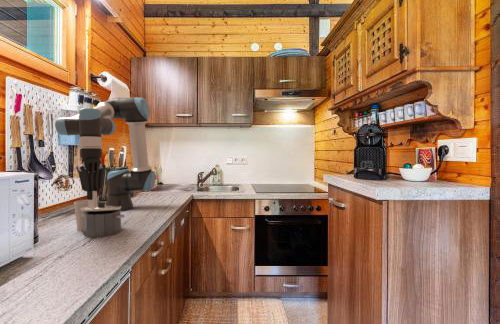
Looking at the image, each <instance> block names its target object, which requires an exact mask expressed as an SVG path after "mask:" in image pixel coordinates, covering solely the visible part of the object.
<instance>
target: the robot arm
mask: <svg viewBox="0 0 500 324" xmlns="http://www.w3.org/2000/svg"><path fill="white" fill-rule="evenodd" d="M150 118H151V109H150V105H149V103H148V101H147V99H145V98H144V97H135V96H134V97H114V98H110V99H107V100H104V101H101V102H99V103H98V104H96V106H94V107H82V108H80V109H79V110H78V114H75V115H73V116H69V117H66V116H63V117H59V118H57V119H56V120H55V123H54V127H55V131H56V133H58V134H59V135H61V136H79V147H80V149H79V157H80V159H81V162H80V163H81V164H80V165H79V166H78V165H76V167H75V169H76V170H77V173H78V177H79V182H80V186H81V190H82V191H83V192H86V200H88V208H96V207H97V206H98V197H99V196H98V195H99V193H98V192H99V191H101V189H102V188H103V179H104V173H105V169H106V165H105V164H103V163H102V161H101V158H103V149H102V147H103V143H102V142H103V141H102V140H103V139H102V136H111V135H113V134H115V132H116V129H117V126H116V123H115V122H114V121H113V120H118V119H119V120H120V119H121V120H124V121H125V124H126V125H128V132H129V133H128V134H129V143H130V151H131V161H132V167H131V168H130V169H129V168H127V169H121V170H120V169H119V170H113V171H108V173H107V179H106V182H107V199H106V202H105V206H121V212H123V211H128V210H131V209H133V208H134V202H133V200H132V198H131V194H130V192H146V191H148V192H149V191H151V190H153V189H154V187H155V184H156V178H157V177H156V176H157V174H156V172H155V171H153V170H152V166H150V165H149V157H148V155H149V154H148V144H147V134H146V124H147V123H148V120H149V119H150ZM112 119H113V120H112Z"/></svg>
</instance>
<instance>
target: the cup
mask: <svg viewBox="0 0 500 324" xmlns="http://www.w3.org/2000/svg"><path fill="white" fill-rule="evenodd" d="M73 205H74V213H75V223H76V230H77V231H82V232H84V217H81V214H83V213H85V212H87V211H81V208H82V207H88V200H87V199H84V200H77V201H74V202H73Z"/></svg>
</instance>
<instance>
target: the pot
mask: <svg viewBox="0 0 500 324" xmlns="http://www.w3.org/2000/svg"><path fill="white" fill-rule="evenodd" d="M121 213H122V211H121V209H119V210H110V211H87V212H85V213H83V214H81V217H84V230H83V235H84V237H86V238H90V237H91V239H95V238H96V239H97V237H98V238H104V237H105V238H106V236H107V237H109V236H114V235H117V234H119V233H121V231H122V219H123V218H125V214H121Z"/></svg>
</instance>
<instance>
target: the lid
mask: <svg viewBox="0 0 500 324" xmlns="http://www.w3.org/2000/svg"><path fill="white" fill-rule="evenodd" d="M105 205H106V202H103V201H102V202H98V201H97V207H96V208H88V207H82V208H81V211H110V210H119V209H121V206H105Z"/></svg>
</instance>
